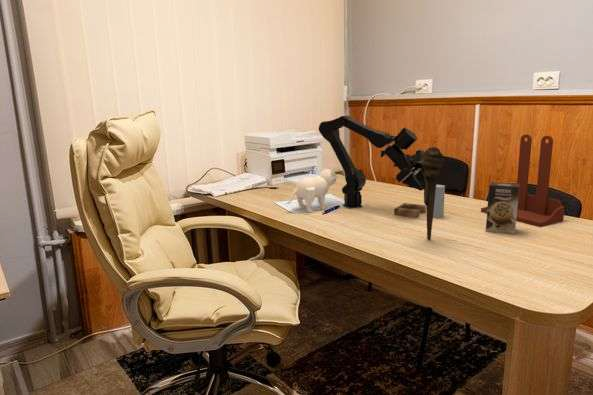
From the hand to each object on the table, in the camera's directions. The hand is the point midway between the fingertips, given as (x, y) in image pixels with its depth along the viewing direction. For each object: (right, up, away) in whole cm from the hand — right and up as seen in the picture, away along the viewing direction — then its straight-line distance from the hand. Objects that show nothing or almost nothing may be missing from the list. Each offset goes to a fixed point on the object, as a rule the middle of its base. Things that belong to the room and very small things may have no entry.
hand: (426, 187), depth 163 cm
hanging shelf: (+34, -11, -4) cm, 36 cm away
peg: (+4, -11, 0) cm, 12 cm away
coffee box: (+20, -15, -19) cm, 31 cm away
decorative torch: (-7, -18, -25) cm, 32 cm away
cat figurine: (-43, -9, +18) cm, 47 cm away
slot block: (-5, -10, +6) cm, 12 cm away
